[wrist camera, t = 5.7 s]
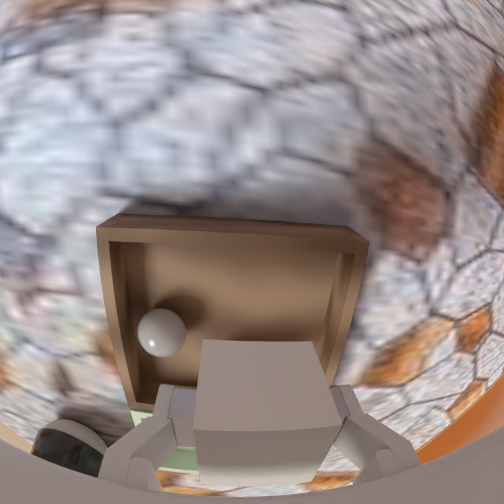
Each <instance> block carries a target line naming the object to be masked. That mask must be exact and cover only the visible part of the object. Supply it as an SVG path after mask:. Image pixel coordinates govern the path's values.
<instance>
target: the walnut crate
mask: <svg viewBox="0 0 504 504" xmlns="http://www.w3.org/2000/svg"><path fill="white" fill-rule="evenodd" d="M96 235H97V247H98V257H99V266H100V275H101V282H102V290H103V296H104V303H105V309H106V314H107V320H108V325H109V330H110V335H111V340H112V345H113V349H114V354H115V358H116V362H117V366H118V370H119V374H120V378H121V382H122V385H123V389H124V392H125V396H126V399H127V403H128V406H129V407H133V408H139V409H146V410H153V411H154V407H155V402H156V398H157V394H158V390H159V386H160V385H161V384H168V385H177V386H186V387H196V388H197V385H198V376H199V367H200V358H201V350H202V342H203V339H207V340H227V341H262V342H304V341H312V343H313V345H314V348H315V351H316V353H317V356H318V359H319V361H320V364H321V367H322V369H323V372H324V375H325V377H326V380H327V383H328V385H329V386H332V383H333V380H334V377H335V374H336V371H337V368H338V365H339V362H340V358H341V355H342V352H343V349H344V345H345V342H346V338H347V335H348V331H349V328H350V324H351V320H352V317H353V313H354V309H355V305H356V301H357V297H358V293H359V289H360V285H361V280H362V276H363V271H364V267H365V262H366V257H367V252H368V247H369V241H368V240H366V239H365V238H364V237H362V236H361V235H359V234H358V233H357V232H355V231H354V230H352V229H351V228H350V227H346V226H334V225H322V224H309V223H296V222H282V221H267V220H250V219H233V218H214V217H193V216H168V215H137V214H116V215H115V216H113V217H111V218H110V219H108V220H107V221H105V222H103V223H102V224H100V225H99V226H97V227H96ZM157 308H165V309H169V310H171V311H173V312H175V313H176V314H178V315H179V316H180V318H181V319H182V320H183V322H184V324H185V327H186V341H185V343H184V345H183V347H182V348H181V350H180V351H179V352H177V353H176V354H174V355H172V356H169V357H157V356H154V355H151V354H150V353H148V352H147V351H146V350H145V349H144V348H143V347H142V345H141V344H140V341H139V339H138V325H139V322H140V320H141V319H142V317H143V316H144V315H145V314H146V313H147V312H149V311H151V310H153V309H157Z"/></svg>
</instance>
